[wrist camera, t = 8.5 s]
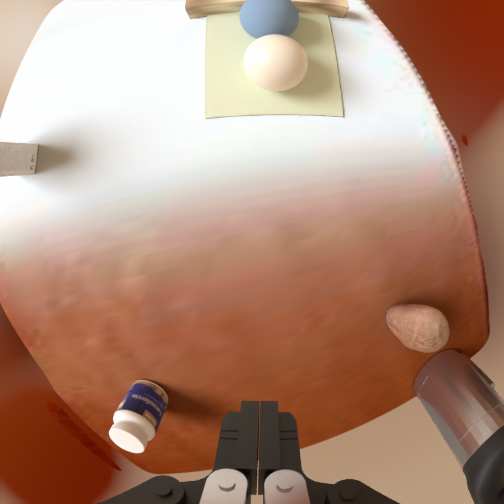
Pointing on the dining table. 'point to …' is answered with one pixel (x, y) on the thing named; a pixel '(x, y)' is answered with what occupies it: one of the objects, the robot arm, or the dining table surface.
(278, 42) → the cue ball
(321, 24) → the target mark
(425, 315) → the mushroom
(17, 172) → the skincare box
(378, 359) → the dining table surface
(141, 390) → the pill bottle
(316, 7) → the stopper strip
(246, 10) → the blue ball
